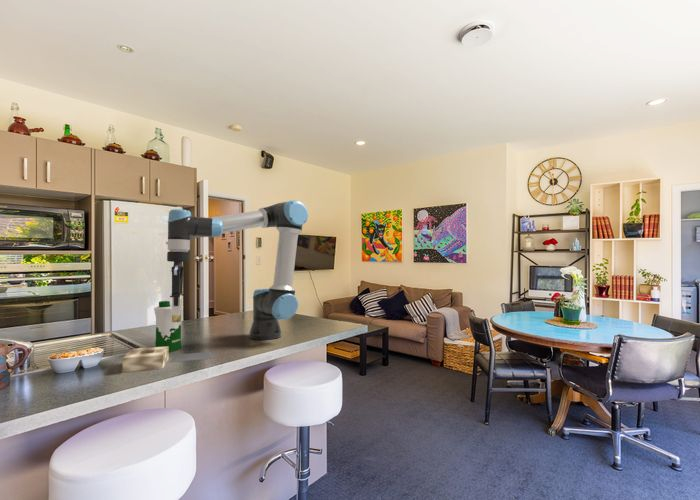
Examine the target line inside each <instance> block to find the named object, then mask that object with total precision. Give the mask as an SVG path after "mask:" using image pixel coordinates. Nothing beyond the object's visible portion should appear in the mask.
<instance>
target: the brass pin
mask: <svg viewBox="0 0 700 500" xmlns="http://www.w3.org/2000/svg"><path fill="white" fill-rule="evenodd" d="M182 294H183V293H182ZM182 294H180V297H181V304H182V302H183V296H182ZM172 322H181V323H182V315H181V306H180V315H172Z"/></svg>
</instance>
